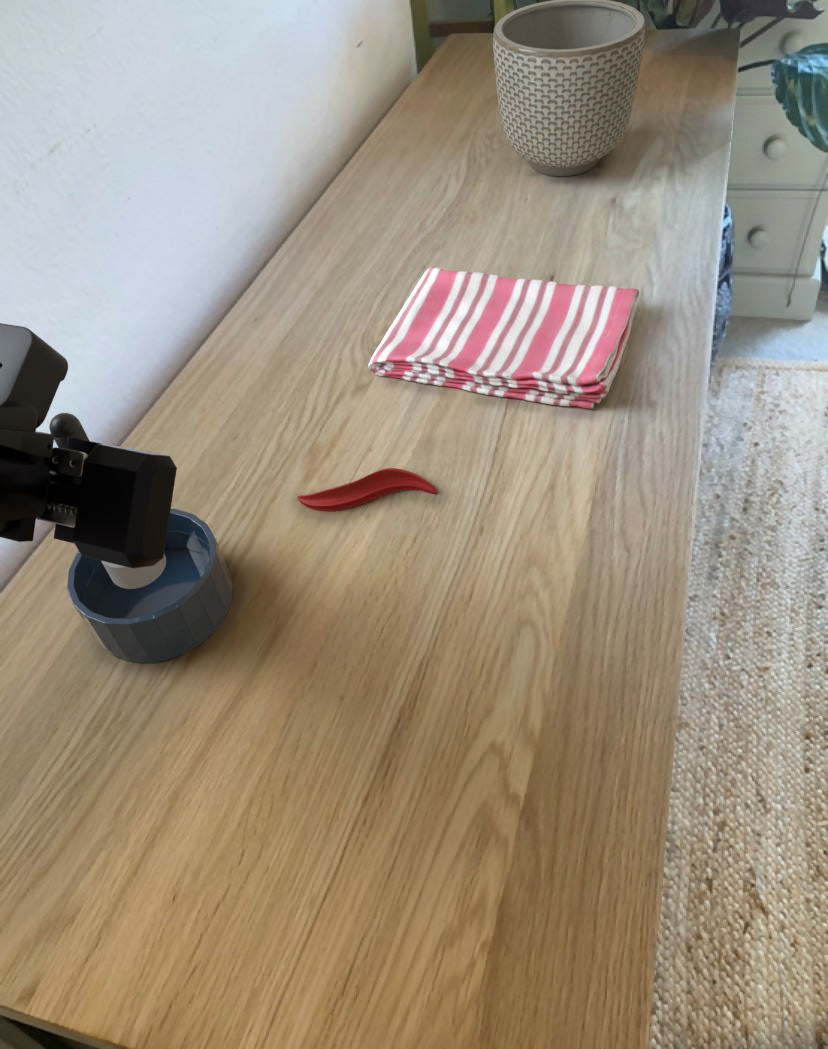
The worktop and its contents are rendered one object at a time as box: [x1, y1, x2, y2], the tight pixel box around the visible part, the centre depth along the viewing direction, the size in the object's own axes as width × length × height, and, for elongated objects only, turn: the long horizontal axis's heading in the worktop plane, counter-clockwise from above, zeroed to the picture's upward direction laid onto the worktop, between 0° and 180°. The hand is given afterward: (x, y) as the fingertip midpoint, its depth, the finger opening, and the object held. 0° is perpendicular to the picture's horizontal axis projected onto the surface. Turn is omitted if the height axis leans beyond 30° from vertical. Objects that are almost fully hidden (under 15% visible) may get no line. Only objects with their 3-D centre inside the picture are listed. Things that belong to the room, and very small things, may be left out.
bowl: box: [66, 508, 234, 664], centre depth 65 cm, size 11×11×5 cm
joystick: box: [49, 412, 166, 589], centre depth 56 cm, size 4×4×14 cm
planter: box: [492, 0, 646, 177], centre depth 103 cm, size 17×17×16 cm
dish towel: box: [367, 266, 640, 410], centre depth 84 cm, size 17×23×4 cm
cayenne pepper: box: [296, 467, 438, 512], centre depth 72 cm, size 12×5×2 cm, turn 83°
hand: (114, 484), depth 57 cm, fingers closed on joystick, 2 cm apart
